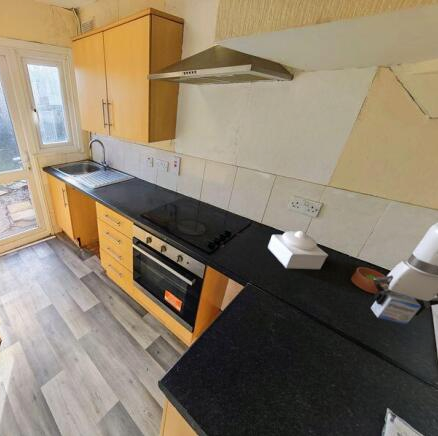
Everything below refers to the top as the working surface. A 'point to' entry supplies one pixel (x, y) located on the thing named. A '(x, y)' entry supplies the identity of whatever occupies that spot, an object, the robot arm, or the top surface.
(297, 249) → the butter dish
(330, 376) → the top surface
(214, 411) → the top surface
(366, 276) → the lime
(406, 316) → the medicine box
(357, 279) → the bowl
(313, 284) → the top surface
